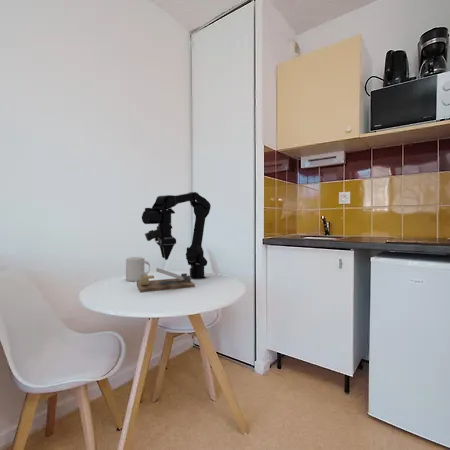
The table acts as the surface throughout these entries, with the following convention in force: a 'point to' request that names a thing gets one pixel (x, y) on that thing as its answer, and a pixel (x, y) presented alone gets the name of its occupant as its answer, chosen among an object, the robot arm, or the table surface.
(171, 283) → the base
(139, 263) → the mug
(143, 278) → the gold t-shaped block
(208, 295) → the table surface
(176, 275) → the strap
